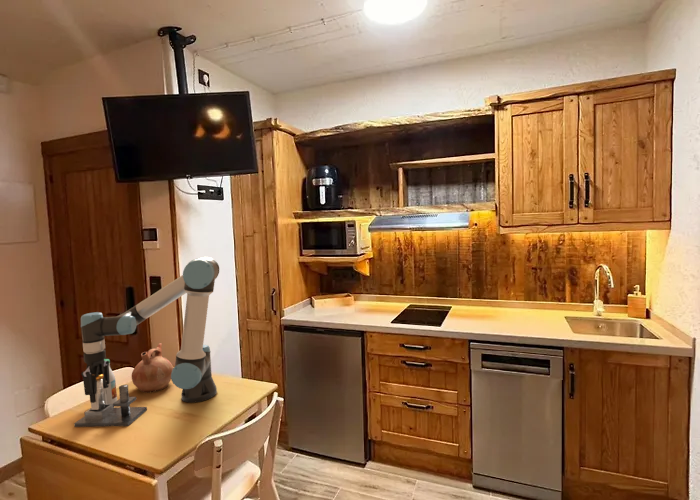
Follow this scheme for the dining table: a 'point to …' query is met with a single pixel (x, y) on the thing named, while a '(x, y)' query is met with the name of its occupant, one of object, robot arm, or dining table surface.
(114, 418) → the grey fixture stand
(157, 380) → the jug
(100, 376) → the glass jar
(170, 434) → the dining table surface
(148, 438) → the dining table surface
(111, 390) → the milk bottle
